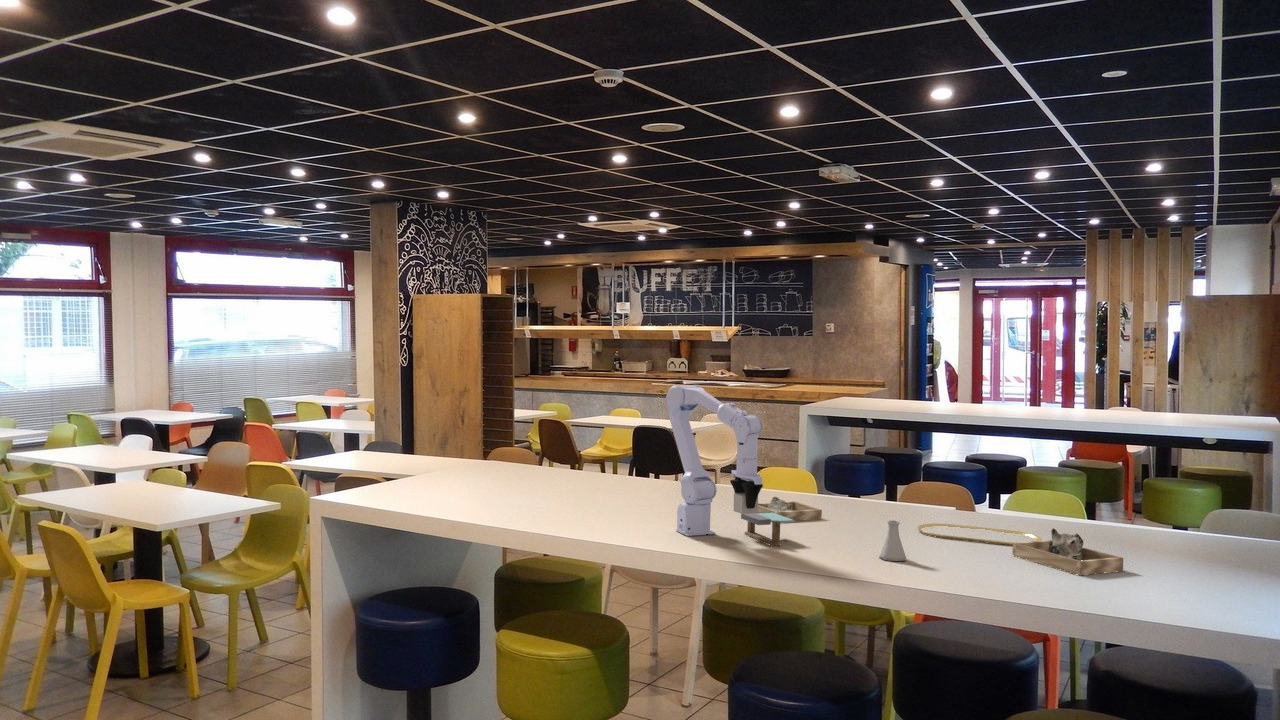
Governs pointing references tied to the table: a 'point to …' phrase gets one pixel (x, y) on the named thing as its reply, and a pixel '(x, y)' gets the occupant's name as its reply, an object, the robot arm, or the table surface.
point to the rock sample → (779, 505)
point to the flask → (893, 544)
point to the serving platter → (975, 538)
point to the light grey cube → (743, 504)
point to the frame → (773, 541)
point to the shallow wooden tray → (1089, 565)
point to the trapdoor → (764, 518)
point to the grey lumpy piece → (1066, 545)
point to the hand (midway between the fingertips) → (745, 506)
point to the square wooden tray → (794, 511)
